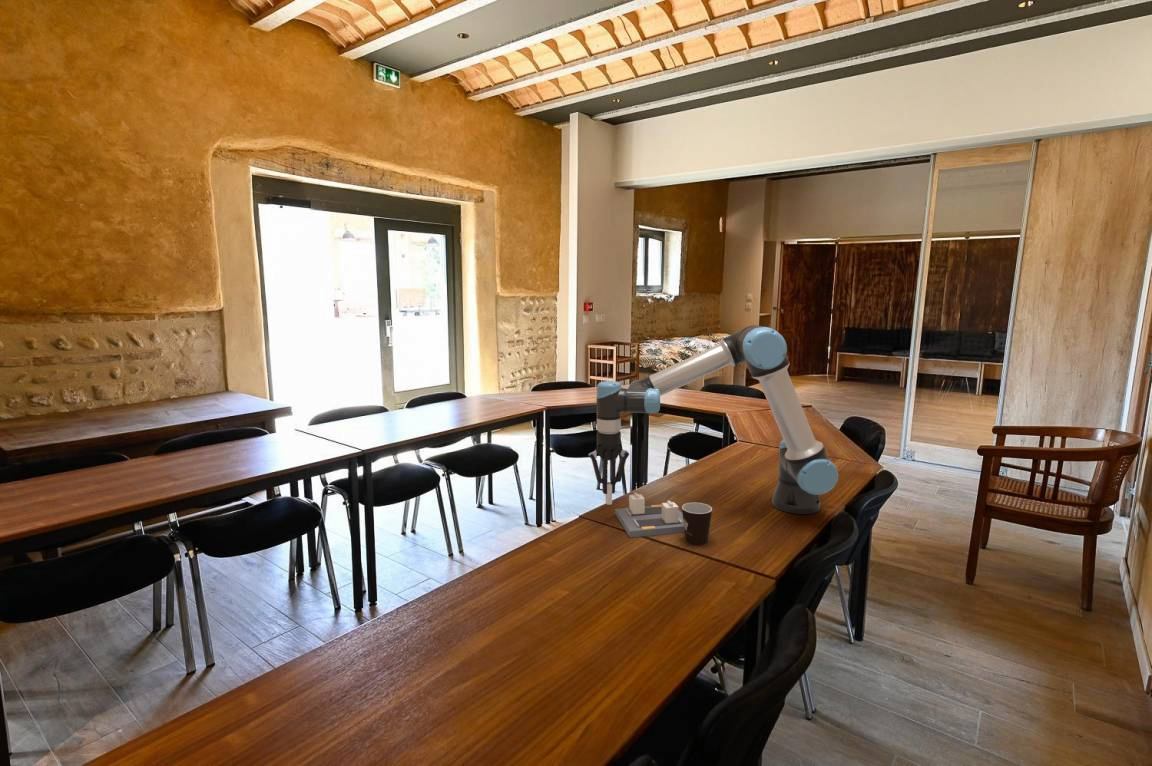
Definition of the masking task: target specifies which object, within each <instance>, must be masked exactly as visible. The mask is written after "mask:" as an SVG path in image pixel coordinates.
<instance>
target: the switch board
mask: <svg viewBox="0 0 1152 766" xmlns="http://www.w3.org/2000/svg"><path fill="white" fill-rule="evenodd" d="M614 510H615V513H614V514H615V516H616V518H617V520H618V521H619V523H620V524H621V526H622V528H623V529H624V531H625V532H626V534H627V535H628V537H629V538H630V539H631V538H632V539H633V538H641V537H650V536H651V537H652V536H661V535H662V536H663V535H672V534H682V533H684V523H683V513H682V511H681V510H680V509H679V512H678V522H677V523H665V522H664V521H663V519H662V503H661V504H651V505H647V506H646V505H645V513H644V514H632V513H631V512H630V510H629V507H623V508H621V507H620V508H615V509H614ZM684 534H685V533H684Z"/></svg>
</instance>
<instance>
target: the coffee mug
mask: <svg viewBox="0 0 1152 766" xmlns="http://www.w3.org/2000/svg"><path fill="white" fill-rule="evenodd" d="M681 510H682V511H681V512H682V513H683V523H684V540H685V542H686V543H688V544H689V545H694V546H703V545H706V544H707V543H708V541H709V540H708V539H709V534H710V527H711V520H712V513H713V507H712V506H711V505H709V504H706V503H703V502H696V501H694V502H686V503H684V504H682V505H681Z"/></svg>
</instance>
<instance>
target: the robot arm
mask: <svg viewBox="0 0 1152 766" xmlns="http://www.w3.org/2000/svg"><path fill="white" fill-rule="evenodd" d="M787 352H788V347H787V342H786V340H785V338H784V337H783V335H782V334H780V333H779V332H778V331H777V330H775V329H773V328H771V327H768V326H762V325H755V324H754V325H749V326H745V327H743V328H741V329H739V330H738V331H737V330H736V332H734V333H732V334H730V335H728V336H726V337H724V338H721V339H720V341H719V342H718V344H716V345H714V346H712V347H710V348H708V349H706V350H703V351H701V352H698V353H697V354H694V355H693V356H690V357H688V358H686V359H684V360H681V361H678V362H677V363H674V364H673V365H671V366H668V367H666V368H663V369H662V370H660V371H657V372H656V373H653V374H650V375H649V376H646V377H645V378H642V379H637V380H633V381H632V382H631V383H630V384H629V385H628V387H627V388H624V387H623V388H622V384H621V382H620V381H615V380H614V381H613V380H607V381H606V380H605V381H600V382H599V383H598V384H597V385H596V446H595V447H594V451H592V452H588V454H587V455H588V456H589V458H590V459H591V463H592V467H593V470H594V473H595V474H594V475H595V478H596V481H597V483H598V484H602V485H601V486H602V489H601V490H602V493H603V495H605V503H606V505H607V506H608V505H613V494H615V493H616V484H617V483H620V482H621V481H622V479H623V478H622V477H623V473H624V470H625V465H626V461H627V459H628V458H629V456H630V453H629V451H628V450H624V448H623V447H622V444H621V443H622V439H621V438H622V432H621V429H622V421H621V420H622V419H621V418H622V413H623V414H627V413H629V414H631V413H633V414H634V413H635V414H638V413H639V414H652V413H653V414H654V413H655V414H656V413H659V411H660V410H661V409H660V408H661V396H663V395H666V394H669V393H671V392H673V391H674V390H675V391H676V389H679V388H681V387H683V386H686V385H688V384H690V383H693V382H695V381H697V380H699V379H701V378H703V377H705V376H709V375H710V374H712V373H714V372H717V371H719V370H721V369H723V368H727V366H731V367H736V366H738V365H741V364H746V365H747V369H748V371H749V373H750V375H751V378H753V379H754V380H758V381H759V384H760V386H761V389H762V391H763V393H764V396H765V398H766V400H767V403H768V406H769V408H770V411H771V413H772V415H773V418H774V421H775V422H776V424H777V428H778V429H779V430H778V431H779V432H780V435H781V436H782V440H780V442H779V447H778V450H779V458H778V482H777V485H776V487H775V489H774V492H773V495H772V498H771V499H772V500H771V504H772V507H774V508H775V509H777V510H780V511H782V512H784V513H790V514H797V515H811V514H816V513H817V512H819V511H820V510H821V500H820V497H819V495H823V494H826V493H829V492H830V491H831V490H832V489H834V488H835V486H836V485H837V483H838V479H839V472H838V469H837V467H836V465H835V464H834V463H833V461H831V460H830V459H829V455H828V453H827V452H826V451H827V450H826V449H825V446H824V444H823V442H821V441H818V440H816V438H815V436H814V433H813V431H812V428H811V425H810V424H809V421H808V418H807V416H806V414H805V413H806V412H805V411H804V409H803V407H802V404H801V401H800V399H799V396H798V393H797V391H796V389H795V387H794V384H793V382H792V378H791V377H790V375H789V374H790V373H789V371H788V370H789V369H788V368H789V366H790V360H789V357H788V355H787ZM597 455H598V456H599V457H600V459H601V472H600V467H599V464H598V460H597V458H598V456H597ZM619 456H620V458H619V462H618V466H617V470H616V465H617V458H618V457H619ZM608 464H609V471H608ZM608 472H609V480H610V481H608Z"/></svg>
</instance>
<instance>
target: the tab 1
mask: <svg viewBox="0 0 1152 766" xmlns="http://www.w3.org/2000/svg"><path fill="white" fill-rule="evenodd" d="M645 500H646V499H645V497H644V496H643V495H642V493H638V492H634V493H633V494H629V496H628V505H629V506H628V508H629V510H630V512H631V513H632V514H644V513H645V506H646V505H645V504H646V503H645V502H646V501H645Z"/></svg>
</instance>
